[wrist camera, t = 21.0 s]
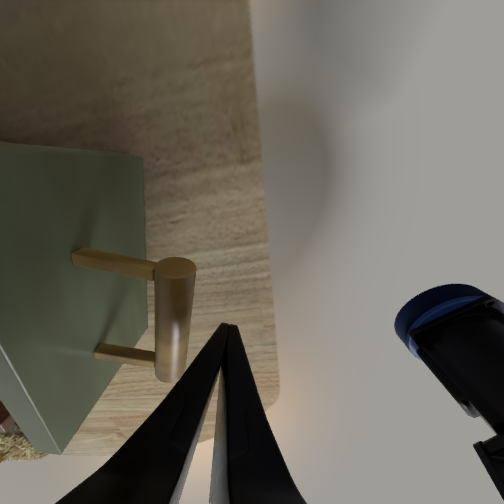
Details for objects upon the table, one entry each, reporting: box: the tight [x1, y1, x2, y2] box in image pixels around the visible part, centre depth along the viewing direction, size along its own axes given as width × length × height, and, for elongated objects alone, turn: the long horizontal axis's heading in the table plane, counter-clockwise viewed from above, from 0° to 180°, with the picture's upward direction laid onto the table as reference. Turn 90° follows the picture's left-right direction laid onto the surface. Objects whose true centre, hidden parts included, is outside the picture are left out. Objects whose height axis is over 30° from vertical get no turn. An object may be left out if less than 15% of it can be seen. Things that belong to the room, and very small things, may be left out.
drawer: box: [0, 140, 196, 455], centre depth 9 cm, size 19×14×8 cm
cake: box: [0, 422, 49, 463], centre depth 24 cm, size 10×10×5 cm
